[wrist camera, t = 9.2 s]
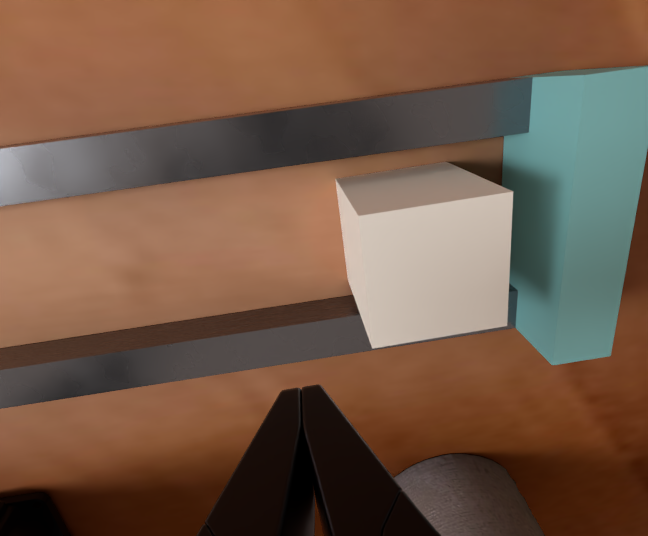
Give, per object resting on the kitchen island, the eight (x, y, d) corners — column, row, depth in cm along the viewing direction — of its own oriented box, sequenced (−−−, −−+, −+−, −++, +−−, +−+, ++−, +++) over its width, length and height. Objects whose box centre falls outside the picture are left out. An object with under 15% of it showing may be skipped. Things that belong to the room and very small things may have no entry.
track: (542, 300, 22) (610, 355, 18) (-13, 386, 21) (-94, 469, 17) (564, 70, 18) (662, 64, 13) (-134, 164, 17) (-289, 192, 12)
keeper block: (447, 263, 21) (507, 325, 15) (347, 279, 21) (372, 348, 15) (445, 161, 19) (513, 191, 13) (335, 178, 19) (358, 215, 13)
